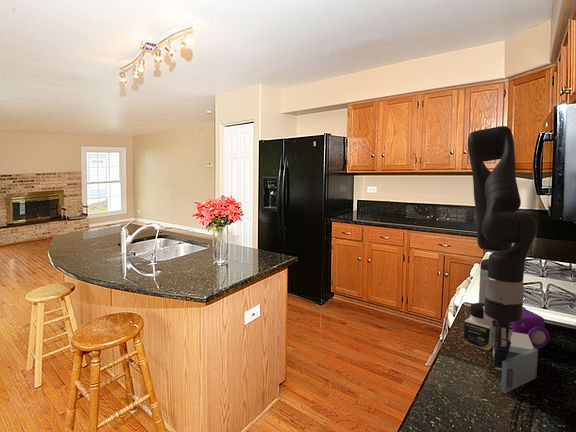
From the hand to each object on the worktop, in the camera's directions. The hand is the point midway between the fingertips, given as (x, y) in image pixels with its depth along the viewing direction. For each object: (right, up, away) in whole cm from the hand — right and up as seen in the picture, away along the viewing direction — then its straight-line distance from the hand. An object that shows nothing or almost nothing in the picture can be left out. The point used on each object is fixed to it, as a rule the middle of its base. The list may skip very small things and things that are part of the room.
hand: (499, 366), depth 82 cm
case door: (+5, -5, 0) cm, 7 cm away
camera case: (+10, -4, +10) cm, 15 cm away
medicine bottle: (+8, -3, +23) cm, 24 cm away
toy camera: (+21, -3, +22) cm, 30 cm away
